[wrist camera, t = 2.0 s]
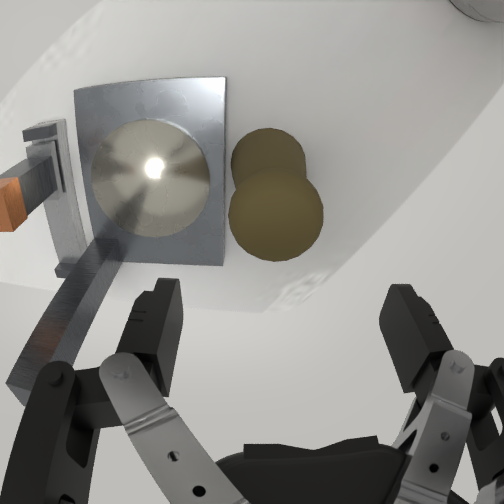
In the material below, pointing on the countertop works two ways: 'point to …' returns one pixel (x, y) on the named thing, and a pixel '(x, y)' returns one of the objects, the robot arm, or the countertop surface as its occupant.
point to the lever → (29, 185)
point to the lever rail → (61, 199)
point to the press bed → (136, 199)
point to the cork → (273, 197)
